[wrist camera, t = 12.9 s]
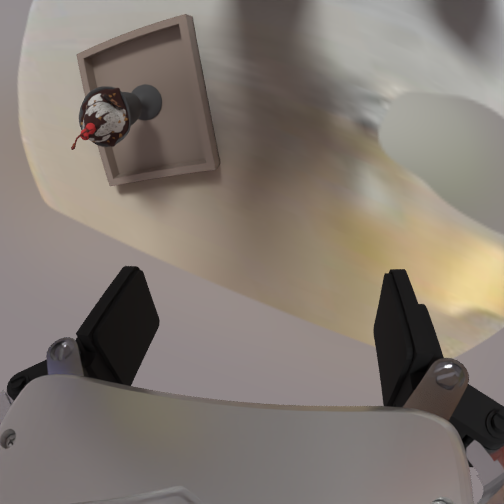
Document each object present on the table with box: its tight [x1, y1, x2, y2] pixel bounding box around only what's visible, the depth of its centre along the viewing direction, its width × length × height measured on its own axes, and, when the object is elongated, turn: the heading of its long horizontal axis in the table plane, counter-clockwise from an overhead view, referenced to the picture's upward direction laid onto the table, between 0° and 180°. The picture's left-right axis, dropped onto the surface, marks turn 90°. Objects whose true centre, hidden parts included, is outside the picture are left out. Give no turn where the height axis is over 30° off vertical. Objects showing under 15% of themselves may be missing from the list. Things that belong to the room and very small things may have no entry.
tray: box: [77, 14, 220, 186], centre depth 36 cm, size 20×16×2 cm
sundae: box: [71, 84, 162, 150], centre depth 31 cm, size 7×7×15 cm
